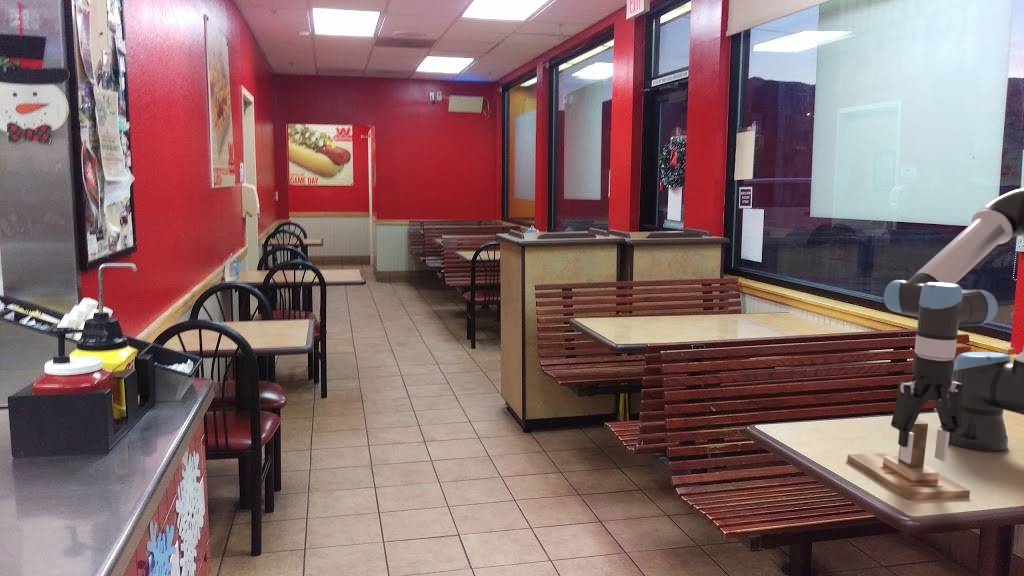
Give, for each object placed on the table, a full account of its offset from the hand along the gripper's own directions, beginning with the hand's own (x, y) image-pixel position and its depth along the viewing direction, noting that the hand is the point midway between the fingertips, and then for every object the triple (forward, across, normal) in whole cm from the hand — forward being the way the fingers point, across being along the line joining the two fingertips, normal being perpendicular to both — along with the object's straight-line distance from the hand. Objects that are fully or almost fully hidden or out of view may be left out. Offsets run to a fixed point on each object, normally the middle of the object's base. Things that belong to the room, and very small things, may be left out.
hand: (922, 460), depth 165 cm
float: (+4, 0, -4) cm, 6 cm away
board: (+6, 0, -5) cm, 8 cm away
